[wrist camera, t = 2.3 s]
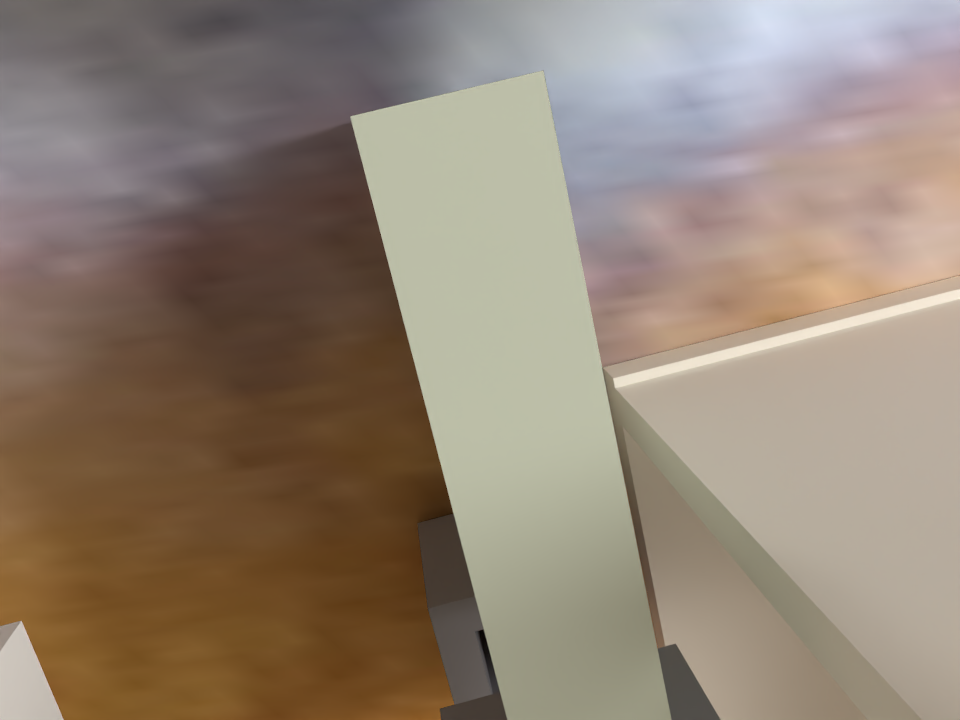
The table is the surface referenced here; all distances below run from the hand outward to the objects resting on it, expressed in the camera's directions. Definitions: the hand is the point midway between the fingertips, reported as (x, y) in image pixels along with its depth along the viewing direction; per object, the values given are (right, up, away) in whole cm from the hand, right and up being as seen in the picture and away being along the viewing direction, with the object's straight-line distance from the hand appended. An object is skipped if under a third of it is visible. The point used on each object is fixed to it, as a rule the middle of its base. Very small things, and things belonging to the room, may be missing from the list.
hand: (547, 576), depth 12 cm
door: (-1, +2, +15) cm, 15 cm away
